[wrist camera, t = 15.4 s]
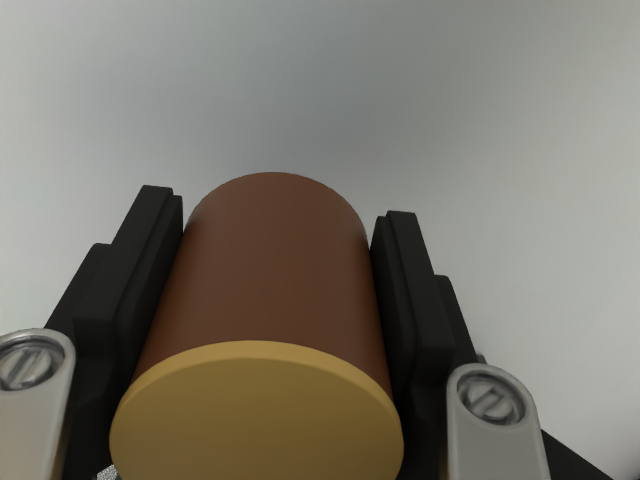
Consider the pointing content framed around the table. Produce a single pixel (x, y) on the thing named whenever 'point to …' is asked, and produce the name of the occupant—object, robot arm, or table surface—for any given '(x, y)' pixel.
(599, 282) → the table surface
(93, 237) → the table surface
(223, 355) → the coffee pod
